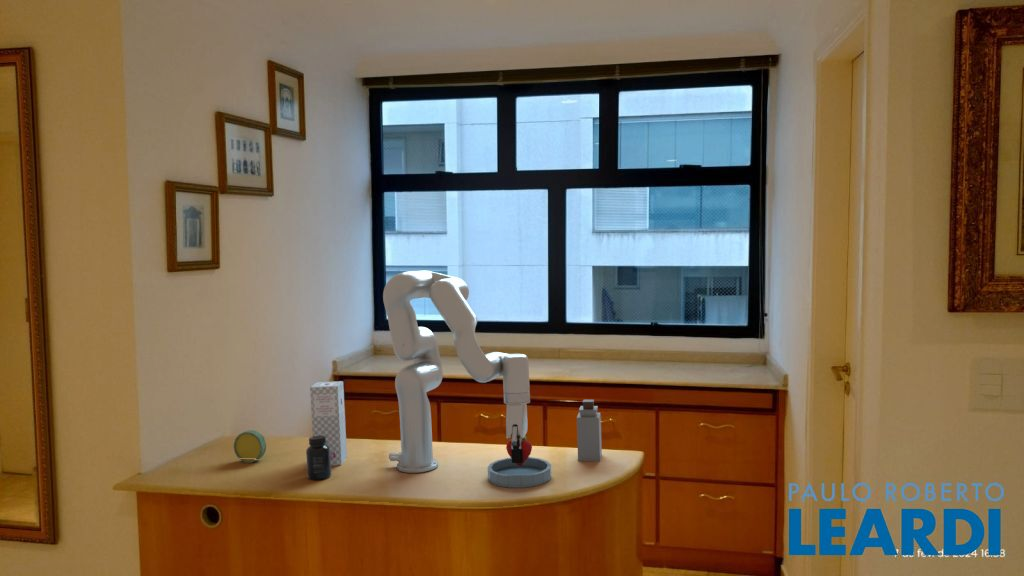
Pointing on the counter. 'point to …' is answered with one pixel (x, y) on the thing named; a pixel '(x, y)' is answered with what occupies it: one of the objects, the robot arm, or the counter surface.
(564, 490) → the counter surface
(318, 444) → the supplement bottle
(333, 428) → the box
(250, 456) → the decorative artifact
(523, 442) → the strawberry
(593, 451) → the perfume bottle
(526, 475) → the slate dish
